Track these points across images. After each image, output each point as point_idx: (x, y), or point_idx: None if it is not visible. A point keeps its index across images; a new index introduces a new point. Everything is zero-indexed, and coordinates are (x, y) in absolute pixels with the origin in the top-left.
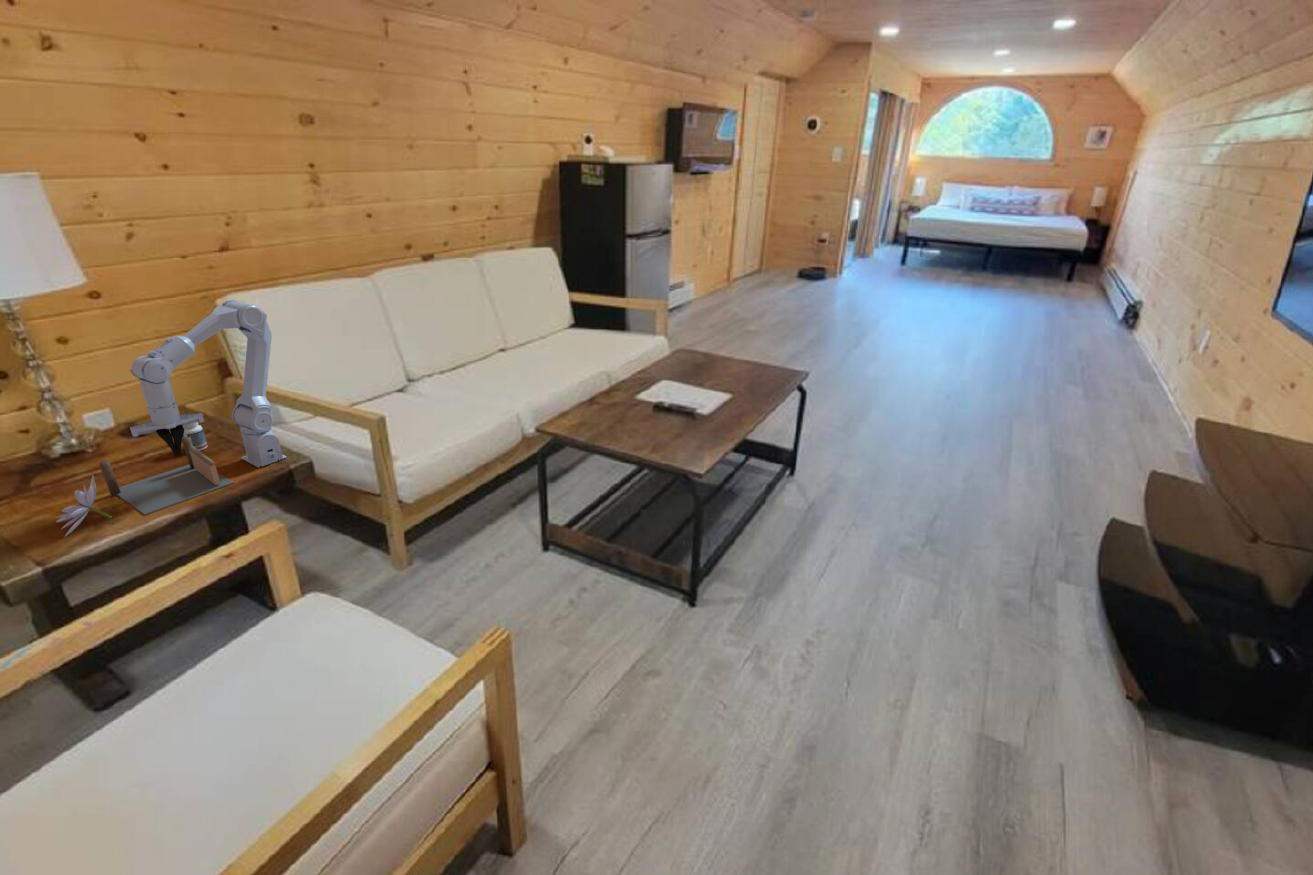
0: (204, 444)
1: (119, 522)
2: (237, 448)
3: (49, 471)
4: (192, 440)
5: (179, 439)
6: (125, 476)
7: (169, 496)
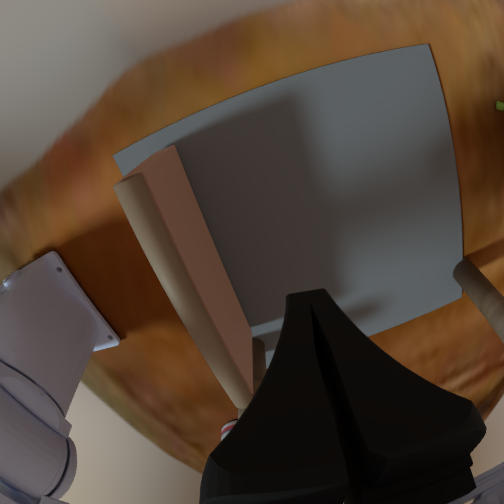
0: (225, 433)
1: (481, 54)
2: (149, 398)
3: (473, 403)
4: None
5: (280, 389)
6: (411, 360)
7: (350, 144)
